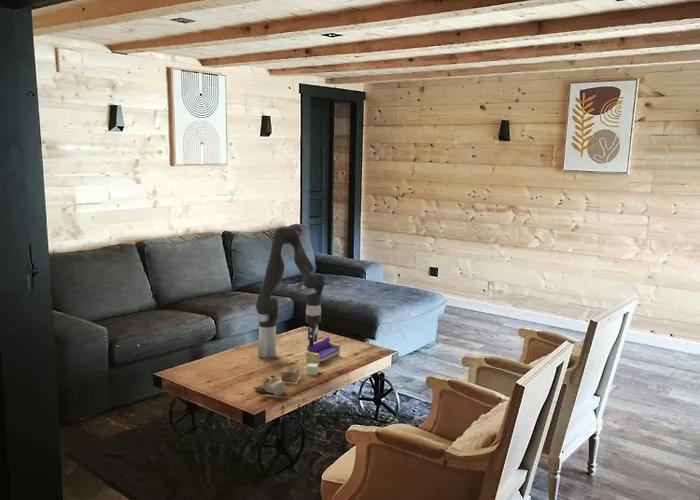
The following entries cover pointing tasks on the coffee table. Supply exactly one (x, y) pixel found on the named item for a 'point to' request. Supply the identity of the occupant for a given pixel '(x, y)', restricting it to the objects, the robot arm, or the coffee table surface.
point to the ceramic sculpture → (271, 386)
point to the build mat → (291, 382)
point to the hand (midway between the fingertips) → (313, 344)
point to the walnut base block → (290, 374)
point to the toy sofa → (322, 351)
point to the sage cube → (312, 369)
